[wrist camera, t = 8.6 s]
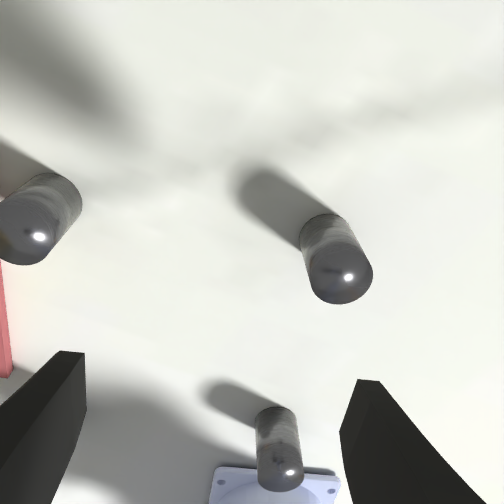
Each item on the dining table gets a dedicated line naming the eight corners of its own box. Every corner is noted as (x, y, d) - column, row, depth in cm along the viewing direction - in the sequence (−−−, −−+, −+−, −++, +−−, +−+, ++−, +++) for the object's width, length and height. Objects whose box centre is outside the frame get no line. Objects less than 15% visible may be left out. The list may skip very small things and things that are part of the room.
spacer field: (291, 437, 26) (298, 494, 23) (42, 414, 24) (13, 471, 21) (358, 218, 19) (380, 255, 16) (22, 169, 18) (-23, 200, 15)
